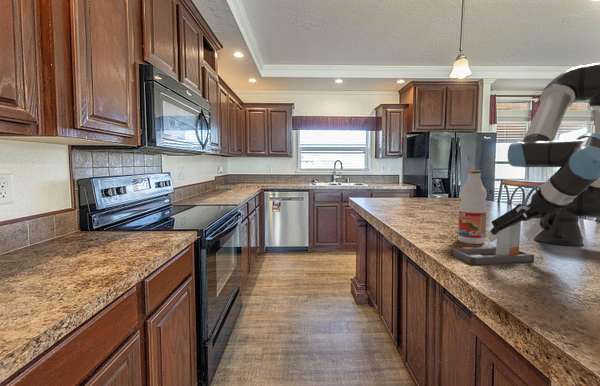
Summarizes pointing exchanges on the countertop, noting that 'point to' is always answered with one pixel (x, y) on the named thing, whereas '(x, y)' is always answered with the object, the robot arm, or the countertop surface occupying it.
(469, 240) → the fruit juice
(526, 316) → the countertop surface
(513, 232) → the skincare box
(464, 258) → the slide track
